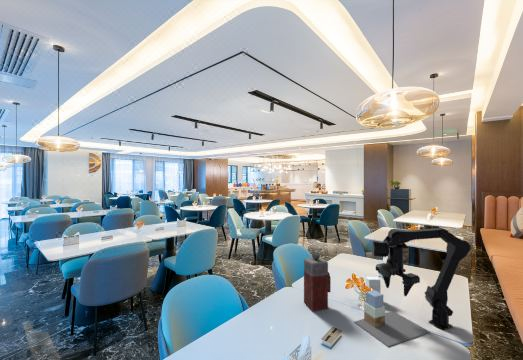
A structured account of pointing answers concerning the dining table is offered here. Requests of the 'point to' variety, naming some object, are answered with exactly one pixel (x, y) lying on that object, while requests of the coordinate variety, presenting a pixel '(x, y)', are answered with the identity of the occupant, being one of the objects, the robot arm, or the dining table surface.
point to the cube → (374, 299)
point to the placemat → (393, 329)
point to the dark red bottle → (316, 282)
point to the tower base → (374, 320)
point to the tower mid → (374, 310)
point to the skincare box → (373, 283)
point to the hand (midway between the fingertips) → (396, 291)
